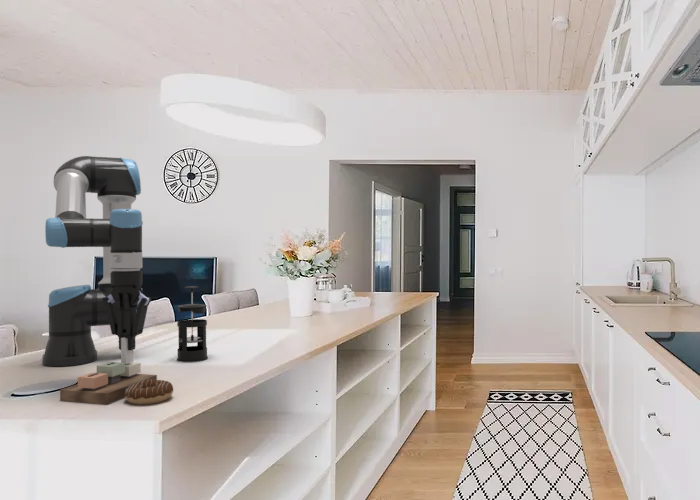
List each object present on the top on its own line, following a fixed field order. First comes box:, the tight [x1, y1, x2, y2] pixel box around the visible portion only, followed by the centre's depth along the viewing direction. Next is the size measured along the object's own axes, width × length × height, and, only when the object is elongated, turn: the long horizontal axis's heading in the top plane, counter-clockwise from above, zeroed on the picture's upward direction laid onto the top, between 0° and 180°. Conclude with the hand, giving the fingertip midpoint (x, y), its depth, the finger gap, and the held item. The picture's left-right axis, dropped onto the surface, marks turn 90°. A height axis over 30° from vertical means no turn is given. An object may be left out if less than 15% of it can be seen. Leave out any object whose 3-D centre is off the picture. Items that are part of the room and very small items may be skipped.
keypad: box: [59, 373, 158, 406], centre depth 131 cm, size 13×18×4 cm
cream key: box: [120, 361, 142, 376], centre depth 137 cm, size 4×4×3 cm
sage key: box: [96, 361, 125, 377], centre depth 131 cm, size 4×4×3 cm
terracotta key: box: [77, 372, 108, 389], centre depth 125 cm, size 4×4×3 cm
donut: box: [124, 379, 174, 406], centre depth 125 cm, size 11×11×4 cm
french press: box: [176, 285, 209, 363], centre depth 170 cm, size 12×9×23 cm
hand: (127, 362), depth 137 cm, fingers closed
